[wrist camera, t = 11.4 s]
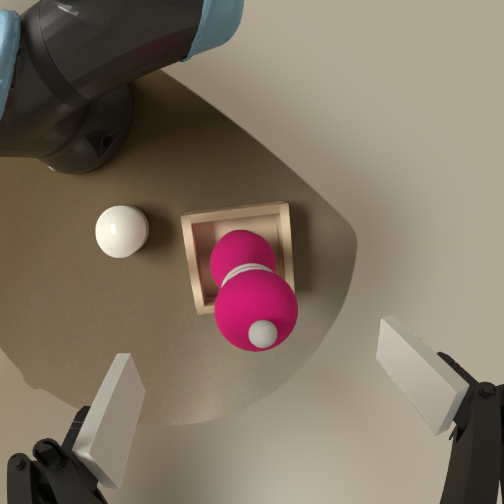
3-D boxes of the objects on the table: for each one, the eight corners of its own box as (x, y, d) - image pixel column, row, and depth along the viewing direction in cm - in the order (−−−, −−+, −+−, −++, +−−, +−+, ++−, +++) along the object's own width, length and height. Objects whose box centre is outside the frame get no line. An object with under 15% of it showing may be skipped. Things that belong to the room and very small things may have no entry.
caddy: (185, 212, 34) (180, 216, 30) (281, 200, 35) (288, 203, 31) (199, 301, 37) (197, 314, 33) (288, 290, 38) (295, 302, 34)
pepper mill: (244, 213, 34) (276, 258, 15) (280, 256, 36) (343, 340, 17) (198, 250, 35) (177, 336, 15) (236, 292, 37) (255, 401, 17)
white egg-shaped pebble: (107, 252, 34) (97, 258, 30) (105, 206, 33) (95, 207, 29) (149, 251, 35) (143, 257, 31) (148, 204, 34) (142, 205, 30)
